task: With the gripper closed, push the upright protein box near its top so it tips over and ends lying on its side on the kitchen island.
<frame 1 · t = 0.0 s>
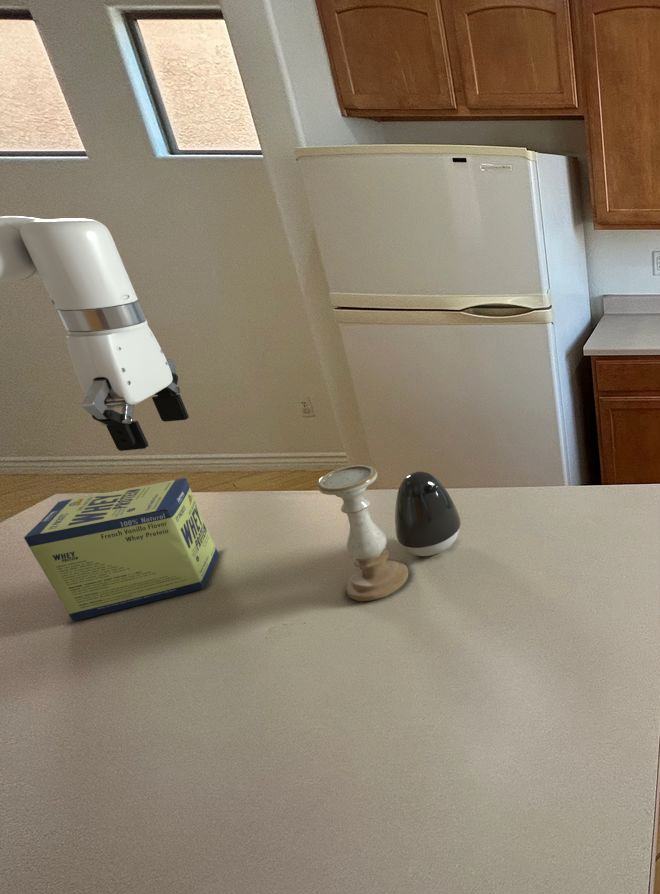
hand: (156, 433, 80), 27 cm above the counter, tool pointing down, fingers open, 9 cm apart
dark grey egg shape: (434, 547, 100), on the counter
protein box: (153, 586, 90), on the counter
candle holder: (379, 583, 91), on the counter
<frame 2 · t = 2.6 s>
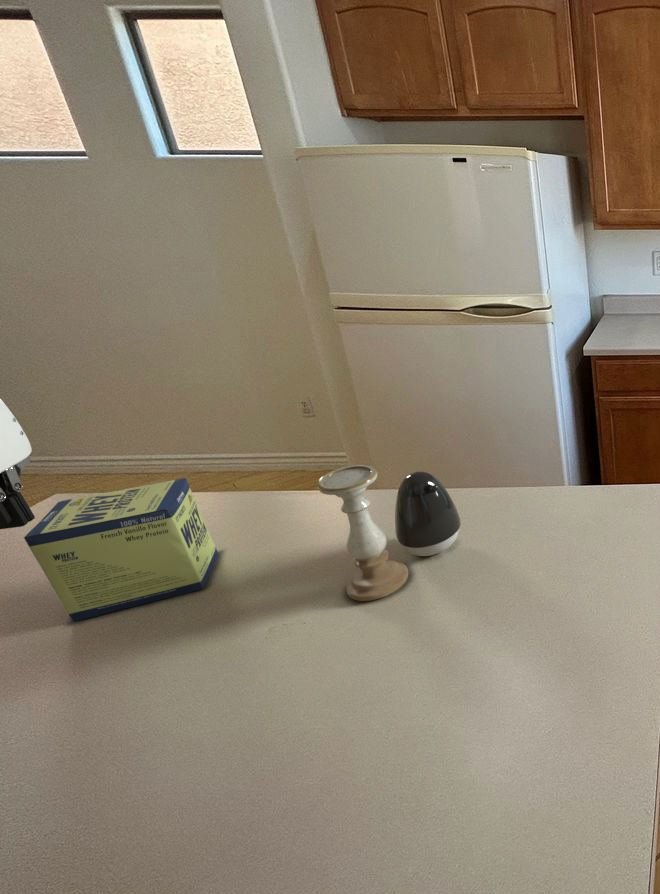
hand: (14, 524, 68), 22 cm above the counter, tool pointing down, fingers closed
nothing on the counter moved.
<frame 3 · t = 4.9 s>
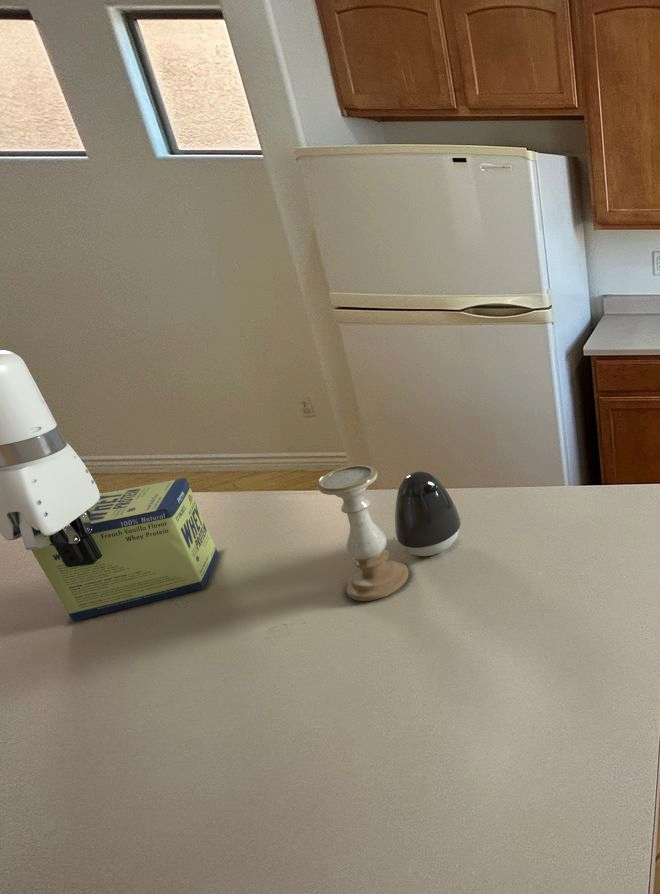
hand: (85, 562, 78), 11 cm above the counter, tool pointing down, fingers closed
protein box: (153, 586, 90), on the counter, touching gripper
everything else where it was.
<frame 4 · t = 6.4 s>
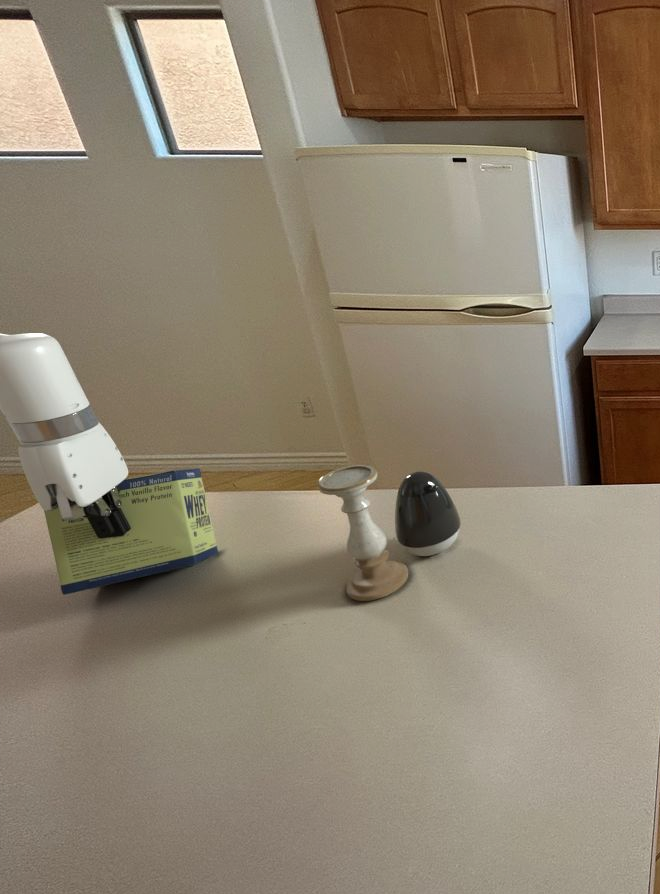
hand: (115, 534, 83), 12 cm above the counter, tool pointing down, fingers closed
protein box: (148, 574, 89), point 2 cm above the counter, touching gripper
everything else where it was.
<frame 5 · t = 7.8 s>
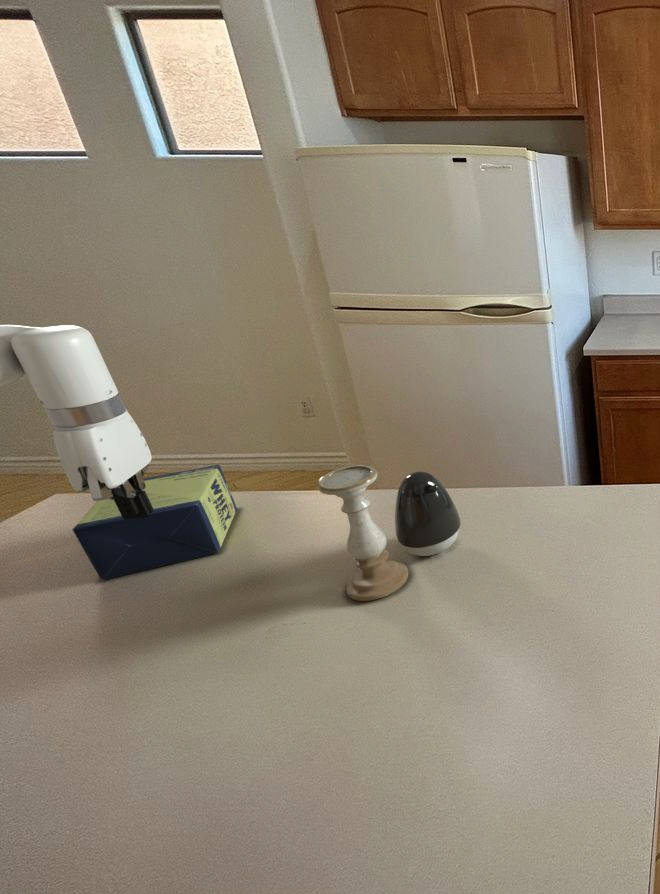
hand: (139, 515, 88), 11 cm above the counter, tool pointing down, fingers closed
protein box: (149, 542, 91), point 5 cm above the counter
everything else where it was.
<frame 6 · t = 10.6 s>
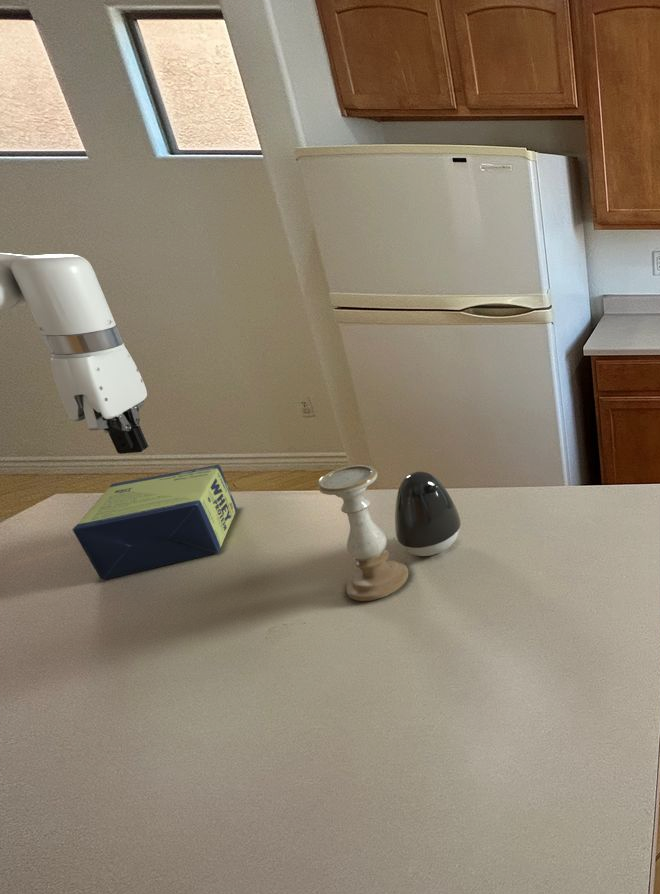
hand: (133, 450, 89), 20 cm above the counter, tool pointing down, fingers closed
nothing on the counter moved.
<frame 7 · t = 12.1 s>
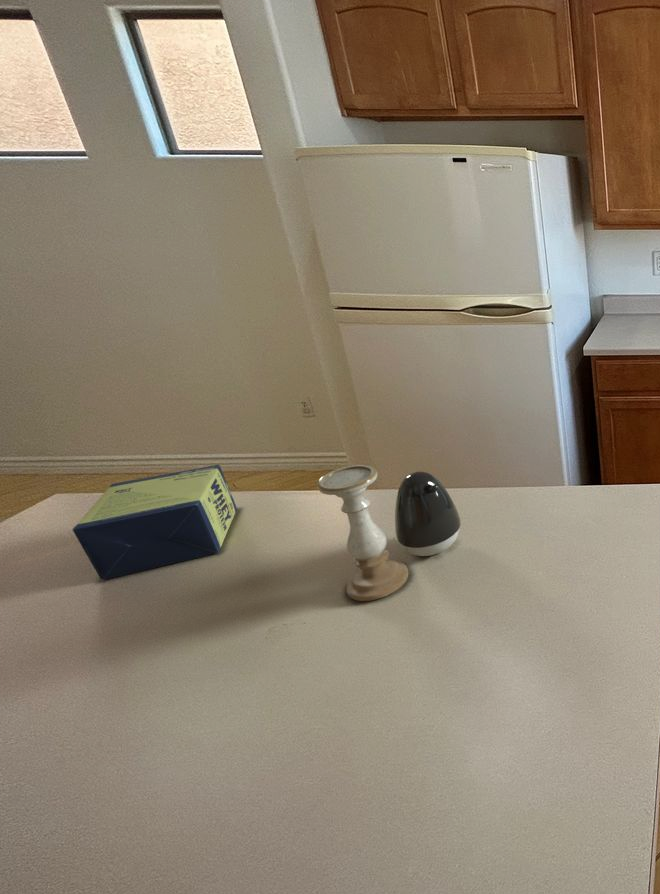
nothing on the counter moved.
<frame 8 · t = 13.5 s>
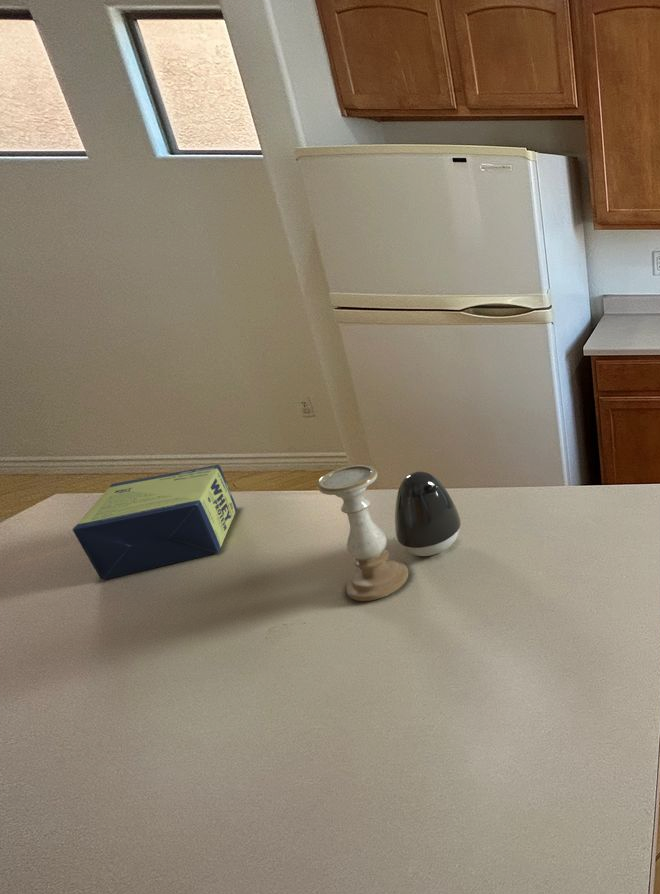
nothing on the counter moved.
at the end: protein box tilted 90°; protein box inside the target area (5.4 cm from its centre), point 5.2 cm above the counter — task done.
